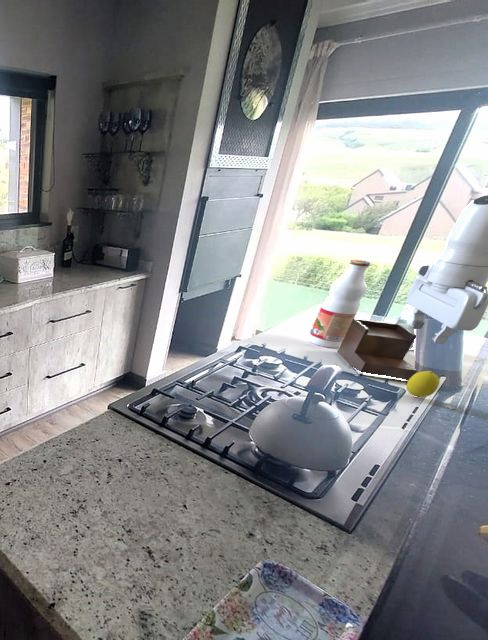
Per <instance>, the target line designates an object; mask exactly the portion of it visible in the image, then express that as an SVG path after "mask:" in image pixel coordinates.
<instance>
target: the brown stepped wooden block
mask: <svg viewBox="0 0 488 640" xmlns="http://www.w3.org/2000/svg"><path fill="white" fill-rule="evenodd" d="M415 338H416V335H415V334H414V333H412V332H411V331H409V330H408V329H406V328H405V327H403V326H402V325H400V324H396V323H392V322H386V321H385V322H384V321H378V320H377V321H376V320H368V319H361V318H354V319H353V320H352V322H351V324H350V326H349V329H348V331H347V333H346V335H345V337H344V339H343V341H342V343H341V345H340V346H339V347H338V349H337V353H338V354H339V355H340V356H341V357H342V358H343V359H344V360H345V362H347V363H348V365H349V366H350V367H351V368H352V369H353V370H354V372H356V370H355V369H354V368H356V369H357V370H359V371H361V372H366V373H371V374H378V375H386V376H391V377H396V378H402V379H406V380H409V379H410V378H411V377H412V376H413V375H414V374H416V373H418V370H417V369H416V368H415V367H413V366H412V365H411V364H409V362H407V361H406V360H405V357H406V355H407V353H408V351H410V350H409V348H410V346H411V345H412V343H413V341H414V339H415ZM353 367H354V368H353ZM391 381H395V382H401V380H395V379H392V380H391ZM407 382H408V381H402V382H401V383H407Z"/></svg>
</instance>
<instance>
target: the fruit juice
mask: <svg viewBox="0 0 488 640" xmlns="http://www.w3.org/2000/svg"><path fill="white" fill-rule="evenodd" d="M370 265H371V262H370V261H367V260H361V259H351V260H349V263H348V268H347V269H346V271H345V272H344V273H343V274H342V275H341V276H340V277H339V278H338V279H336V280H334V281H333V282H332V283H331V285H330V287H329V292H328V295H327V296H326V297H325V298H324V300H323V301H322V303H321V306H320V308H319V311H318V313H317V316H316V318H315V320H314V322H313V324H312V327H311V329H310V332H309V334H308V337H307V341H309V342H310V343H312V344H314V345H317V346H320V347H325V348H333V349H334V348H339V347H340V345H341V343H342V341H343V339H344V337H345V335H346V333H347V331H348V329H349V326H350V324H351V322H352V320H353V319H355V317H356V315H357V313H358V311H359V308H360V305H361V303H360V301H361V300H362V298H363V297H364V296H365V295H366V294H367V290H368V286H367V284H366V281H365V275H366V271H367V269H369V267H370Z"/></svg>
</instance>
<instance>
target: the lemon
mask: <svg viewBox="0 0 488 640" xmlns="http://www.w3.org/2000/svg"><path fill="white" fill-rule="evenodd" d="M439 385H440V378H439V376H438V375H437V374H436V373H434V372H433V371H432V370H427V371H426V370H423V371H417V372H416V373H415V374H414V375H413V376H412V377H411V378H410V379H409V380H408V382H406V390H407V392H408V393H409V394H410V395H411V396H412V395H414V396H417V397H413V398H415V399H417V398H426V397H430V396H431V395H433V394H434V393H435V392H436V391H437V390H438V388H439Z"/></svg>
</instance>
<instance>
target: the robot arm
mask: <svg viewBox="0 0 488 640" xmlns="http://www.w3.org/2000/svg"><path fill="white" fill-rule="evenodd" d="M416 274H417V276H416V278H414V281H413V282H412V285H411V287H410V289H409V291H408V293H407V296H406V304H409V305H411V306H413V307H415V309H414V311H413V318H412V322H411V324H410V327H412V328H414V329H422V328H423V325H424V324H425V322H423V321H424V318H425V314H427V315H429V316H430V317H432V318H433V320H436V321H437V322H438V323H441V324H442V325H441V327H440V328H441V329H440V330H439V331H438V332H437V333H434V334H433V335H432V337H431V341H432V342H433V343H435V344H437V345H444V344H445V343H447V341H448V339H449V338H450V337H451V336H453V335H454V334H455V333H458V331H468V332H470V331H474V330H475V329H476V328H478V326H479V324H480V322H481V321H482V319H483V317H484V315H485V313H486V310H487V309H488V290H487V289H488V287H487V286H486V285H487V283H488V194H487V195H482V196H480V197H477V198H475V199H473V200H472V201H471V202H470V203H469V204H468V205H467V206H466V207H465V208H464V209H463V211H462V212H461V214H460V215H459V217H458V218H457V220H456V222H455V223H454V225H453V227H452V229H451V230H450V232H449V234H448V236H447V238H446V244H445V247H444V249H443V250H442V251H441V253H440V254H439V255H438V256H437V258H436V260H435V262H432V263H428V264H422V265H420V266H419V267H418V268H417V271H416Z"/></svg>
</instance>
